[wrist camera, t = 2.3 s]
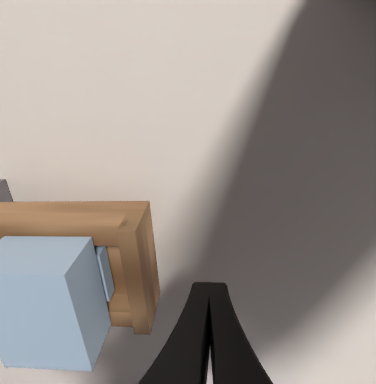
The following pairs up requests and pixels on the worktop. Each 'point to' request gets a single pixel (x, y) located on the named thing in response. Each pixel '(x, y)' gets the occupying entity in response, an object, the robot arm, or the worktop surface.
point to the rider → (53, 302)
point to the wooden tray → (101, 236)
